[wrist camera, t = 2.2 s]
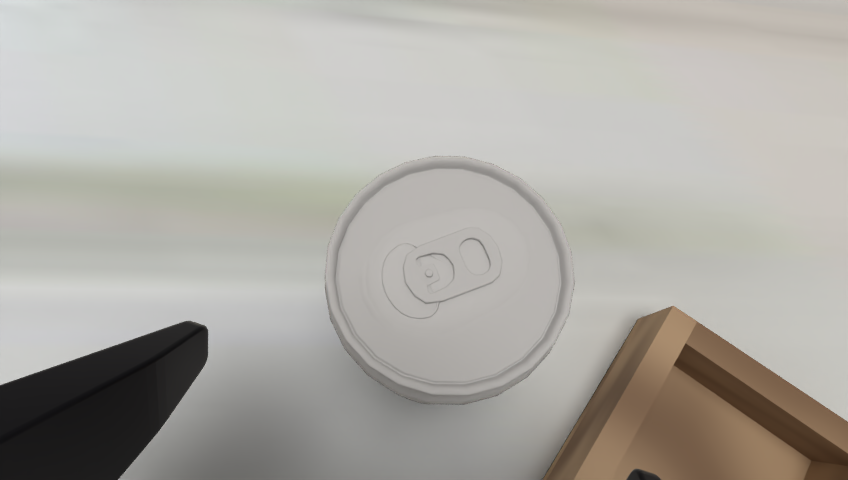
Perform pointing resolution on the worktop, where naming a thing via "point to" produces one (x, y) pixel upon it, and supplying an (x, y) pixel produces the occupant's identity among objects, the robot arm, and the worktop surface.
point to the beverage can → (448, 279)
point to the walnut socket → (699, 415)
